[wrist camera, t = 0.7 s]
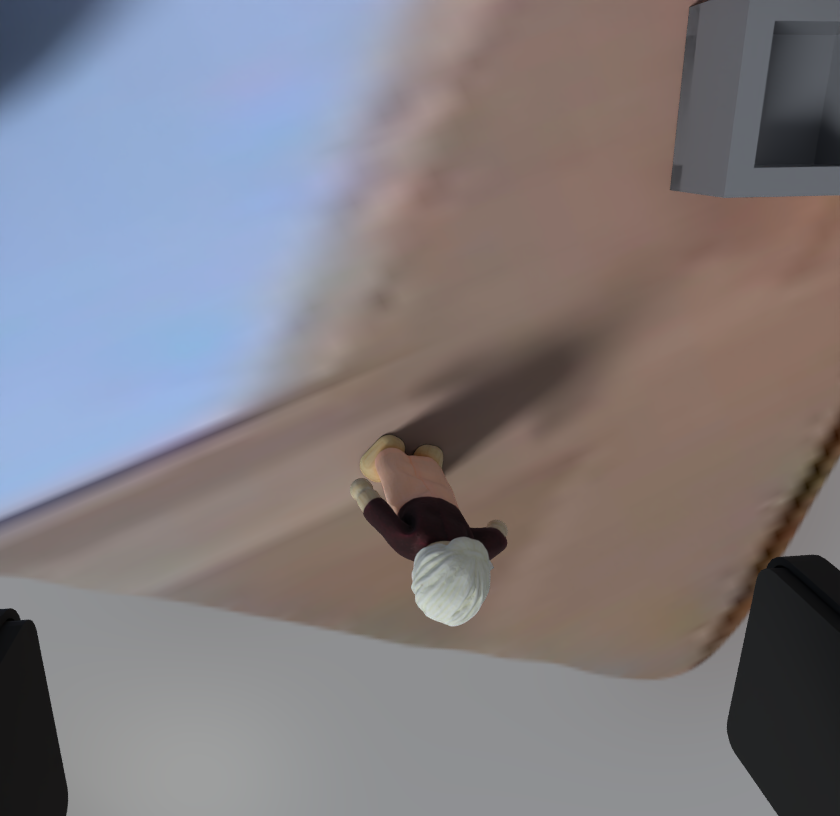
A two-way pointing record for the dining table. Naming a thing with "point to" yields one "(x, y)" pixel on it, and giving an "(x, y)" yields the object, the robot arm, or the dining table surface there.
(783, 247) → the dining table surface
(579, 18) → the dining table surface
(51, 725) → the robot arm
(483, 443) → the dining table surface
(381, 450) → the grandmother figurine
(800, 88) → the square open box
